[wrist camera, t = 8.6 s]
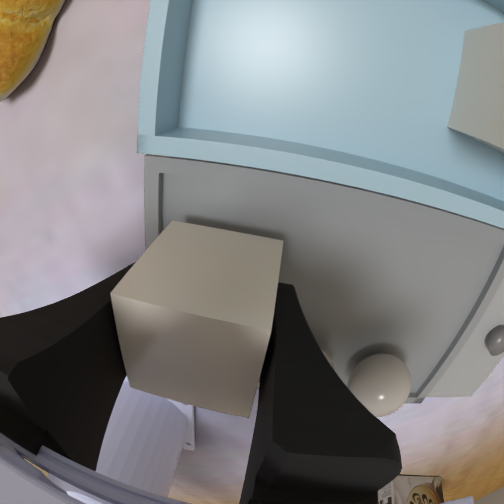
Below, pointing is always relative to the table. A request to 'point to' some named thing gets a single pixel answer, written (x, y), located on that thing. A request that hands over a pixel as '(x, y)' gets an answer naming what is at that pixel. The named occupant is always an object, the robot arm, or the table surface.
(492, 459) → the table surface
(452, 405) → the table surface
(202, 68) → the blue bin
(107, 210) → the table surface
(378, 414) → the pebble
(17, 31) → the bread roll
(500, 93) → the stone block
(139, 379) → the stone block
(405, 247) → the slate tray
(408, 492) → the coffee box
